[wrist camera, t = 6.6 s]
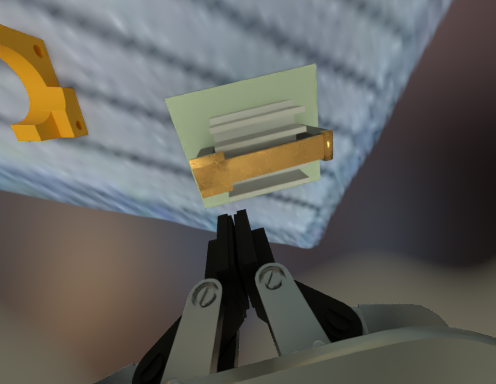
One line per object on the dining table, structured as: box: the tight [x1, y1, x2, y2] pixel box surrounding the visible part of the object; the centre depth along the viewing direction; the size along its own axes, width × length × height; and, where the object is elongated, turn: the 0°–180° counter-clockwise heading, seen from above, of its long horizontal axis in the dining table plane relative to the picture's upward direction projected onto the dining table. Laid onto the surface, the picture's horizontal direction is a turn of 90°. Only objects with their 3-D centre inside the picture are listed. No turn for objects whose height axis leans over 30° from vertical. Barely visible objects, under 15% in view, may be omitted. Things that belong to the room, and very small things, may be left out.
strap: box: [189, 130, 333, 198], centre depth 23 cm, size 18×5×1 cm, turn 102°
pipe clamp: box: [0, 24, 88, 141], centre depth 24 cm, size 12×4×6 cm, turn 178°
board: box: [165, 64, 327, 209], centre depth 29 cm, size 24×20×10 cm
